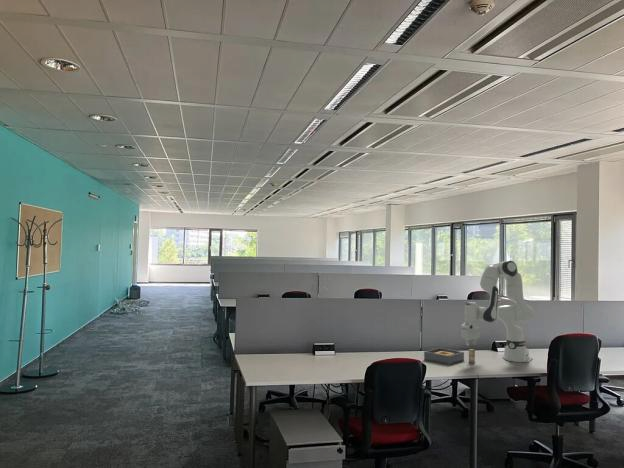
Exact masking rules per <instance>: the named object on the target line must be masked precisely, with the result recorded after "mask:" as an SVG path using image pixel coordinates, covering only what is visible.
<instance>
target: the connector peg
mask: <svg viewBox="0 0 624 468" xmlns="http://www.w3.org/2000/svg"><path fill="white" fill-rule="evenodd" d="M475 351H476V350H475V349H474V348H473V349H472V348H470V349H468V363H469V364H475V363H476V354H475V353H476V352H475Z"/></svg>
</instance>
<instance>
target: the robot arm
mask: <svg viewBox="0 0 624 468" xmlns="http://www.w3.org/2000/svg"><path fill="white" fill-rule="evenodd" d="M518 271H519V270H518V265H517V264H516V263H515V262H514V261H513V260H509V259H508V260H507V259H506V260H504V261H500V262H498V263H495V264H493V265H488V266H486V267H485V269H484V271H483V273H482V275H481V278H480V282H479V284H480V288H481V289H482V290H483V291H484V292H486V293H487V294H489V301H488V306H486V307H485V306H480V305H478V304H477V302H475V301H468V302H466V303H465V304H464V312H463V313H464V322H463V323H462V324H461V325H460V328H461V329H460V335H461V336H460V337H461V339H462V340H463V341H465V346H466V347H470V343H469V340H473V341H472V345H475V346H476V345H477V341H478V339H479V338H480V337H481V330H480V327H479V324H478V321H482V322H488V323H493V322H494V321H496V319H498V320H499V321H501V322H502V323H503V325H504V326H505V329H506V341H505V343H506V346H504V353H503V356H502V359H504V360H506V361H509V362H514V363H530V362H531V360H533V357H532V356H530V351H529V349H528V348H527V347H526V342H527V341H526V340H524V337H525V336H524V330H523V328H522V327H521V326H519V325H517V324H515V322H532V321H533V320H534V319H535V310H534V309H533V308H532V307H531V306H530V305H529V304H527V302H526V300H525V298H524V292H523V290H524V289H523V288H524V287H523V279H522V275H521V274H520V273H519V272H518ZM500 278H504V279H505V281H506V283H505V284H506V285H505V289H506V290H505V291H506V292H505V293H506V295H505V296H506V298H507V299H508V300H510V301H511V302H513V303H514V304H515V305H506V304H505V305H499V306H498V301H499V295H500V294H499V293H500V292H499V288H498V286H497V284H498V280H499V279H500Z"/></svg>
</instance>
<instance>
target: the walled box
mask: <svg viewBox="0 0 624 468" xmlns="http://www.w3.org/2000/svg"><path fill="white" fill-rule="evenodd" d="M423 353H424V354H423V356H424V357H423V360H424V361H427V362H433V363H438V364H443V365H448V366H451V365H455V364H456V363H457V364H458V363H461V362H464V361H465V352H464V351H460V350H454V349H447V348H442V347H437V348H433V349H429V350H425V351H424V352H423Z"/></svg>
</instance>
